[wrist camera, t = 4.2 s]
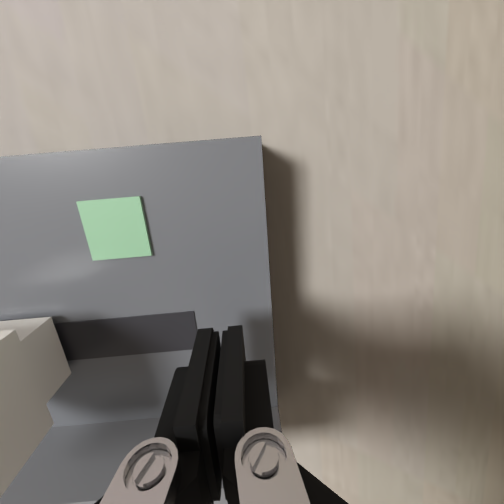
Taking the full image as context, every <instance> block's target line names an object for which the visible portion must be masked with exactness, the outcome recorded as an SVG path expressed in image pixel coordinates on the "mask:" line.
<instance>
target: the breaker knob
mask: <svg viewBox="0 0 504 504" xmlns="http://www.w3.org/2000/svg"><path fill="white" fill-rule="evenodd" d="M70 374H71V371H70V368H69V365H68V362H67V359H66V357H65V354H64V351H63V348H62V345H61V343H60V340H59V337H58V334H57V331H56V329H55V326H54V323H53V320H52V317H42V318H31V319H19V320H8V321H0V497H1V496H2V495H3V493H4V492H5V491H6V489H7V488H8V486H9V485H10V484H11V482H12V481H13V479H14V478H15V477H16V475H17V474H18V472H19V471H20V470H21V468H22V467H23V466H24V464H25V463H26V461H27V460H28V459H29V457H30V456H31V454H32V453H33V452H34V450H35V449H36V448H37V446H38V445H39V443H40V442H41V441H42V439H43V438H44V436H45V435H46V434H47V432H48V431H49V429H50V428H51V427H52V425H53V424H54V422H53V419H52V417H51V415H50V412H49V410H48V407H47V405H46V404H47V402H48V401H49V400H50V399H51V398H52V396H53V395H54V394H55V393H56V391H57V390H58V389H59V388H60V386H61V385H62V384H63V383H64V381H65V380H66V379H67V378H68V377H69V375H70Z"/></svg>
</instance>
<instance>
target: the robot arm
mask: <svg viewBox="0 0 504 504" xmlns="http://www.w3.org/2000/svg"><path fill="white" fill-rule="evenodd" d="M222 482H223V488H224V494H225V499H226V500H227V502H228V504H348V503H347V502H346V501H344V500H343V499H342V498H341V497H339V496H338V495H337V494H336V493H334V492H333V491H332V490H331V489H330V488H328V487H327V486H326V485H325V484H323V483H322V482H321V481H320V480H318V479H317V478H316V477H315V476H313V475H312V474H311V473H310V472H308V471H307V470H306V469H305V468H303V467H302V466H301V465H300V464H298V463H297V462H296V459H295V456H294V453H293V450H292V447H291V445H290V443H289V441H288V439H287V438H286V437H285V436H284V435H283V434H282V433H281V432H279V431H277V430H275V429H274V425H273V417H272V409H271V401H270V393H269V385H268V377H267V370H266V362H265V359H263V360H253V361H246V356H245V346H244V336H243V327H242V325H237V326H228V330H224V331H223V332H222V341H221V343H220V336H219V331H214V330H213V328H203V329H198V331H197V334H196V338H195V342H194V346H193V350H192V354H191V358H190V362H189V366H187V367H177V368H176V370H175V372H174V376H173V379H172V382H171V385H170V388H169V391H168V395H167V398H166V401H165V404H164V407H163V410H162V414H161V417H160V420H159V423H158V426H157V430H156V433H155V436H154V438H150V439H148V440H145V441H143V442H141V443H140V444H138V445H137V446H135V447H134V448H133V449H132V450H131V451H130V452H129V453H128V454H127V455H126V457H125V458H124V460H123V461H122V463H121V464H120V466H119V468H118V470H117V472H116V474H115V475H114V477H113V479H112V481H111V483H110V485H109V487H108V489H107V490H106V492H105V494H104V496H102V497H101V498H100V499H99V500H98V501H97V502H95V503H94V504H214V501H220V499H221V486H222Z"/></svg>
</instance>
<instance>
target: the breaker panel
mask: <svg viewBox="0 0 504 504" xmlns="http://www.w3.org/2000/svg"><path fill="white" fill-rule="evenodd" d="M42 317H52V320H53V323H54V326H55V329H56V331H57V334H58V337H59V340H60V343H61V345H62V348H63V351H64V354H65V357H66V359H67V362H68V365H69V368H70V371H71V374H70V375H69V377H68V378H67V379H66V380H65V381H64V383H63V384H62V385H61V386H60V388H59V389H58V390H57V391H56V393H55V394H54V395H53V396H52V398H51V399H50V400H49V401H48V402H47V404H46V405H47V407H48V410H49V412H50V415H51V417H52V419H53V422H54V424H53V425H52V427H51V428H50V429H49V431H48V432H47V434H46V435H45V436H44V438H43V439H42V441H41V442H40V443H39V445H38V446H37V448H36V449H35V450H34V452H33V453H32V454H31V456H30V457H29V459H28V460H27V461H26V463H25V464H24V466H23V467H22V468H21V470H20V471H19V472H18V474H17V475H16V477H15V478H14V479H13V481H12V482H11V484H10V485H9V486H8V488H7V489H6V491H5V492H4V493H3V495H2V496H1V497H0V504H94V503H95V502H97V501H98V500H99V499H100V498H101V497H102V496H104V494H105V492H106V490H107V489H108V487H109V485H110V483H111V481H112V479H113V477H114V475H115V474H116V472H117V470H118V468H119V466H120V464H121V463H122V461H123V460H124V458H125V457H126V455H127V454H128V453H129V452H130V451H131V450H132V449H133V448H134V447H135V446H137V445H138V444H140V443H141V442H143V441H145V440H148V439H150V438H154V436H155V433H156V430H157V426H158V423H159V420H160V417H161V414H162V410H163V407H164V404H165V401H166V398H167V395H168V391H169V388H170V385H171V382H172V379H173V376H174V372H175V370H176V368H177V367H187V366H189V362H190V358H191V354H192V350H193V346H194V342H195V338H196V334H197V331H198V329H203V328H213V330H214V331H219V336H220V343H221V341H222V332H223V331H224V330H228V326H237V325H242V327H243V336H244V346H245V356H246V361H253V360H263V359H265V362H266V370H267V377H268V385H269V393H270V401H271V409H272V417H273V425H274V429H275V430H277V431H279V432H281V433H282V431H281V424H280V417H279V411H278V401H277V385H276V369H275V352H274V336H273V320H272V303H271V287H270V271H269V255H268V238H267V222H266V206H265V190H264V173H263V157H262V141H261V136H251V137H238V138H226V139H214V140H201V141H189V142H176V143H164V144H151V145H139V146H126V147H114V148H102V149H89V150H77V151H64V152H52V153H39V154H27V155H15V156H2V157H0V321H8V320H19V319H31V318H42ZM214 504H228V502H227V500H226V499H225V494H224V488H223V482H222V486H221V499H220V501H214Z"/></svg>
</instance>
